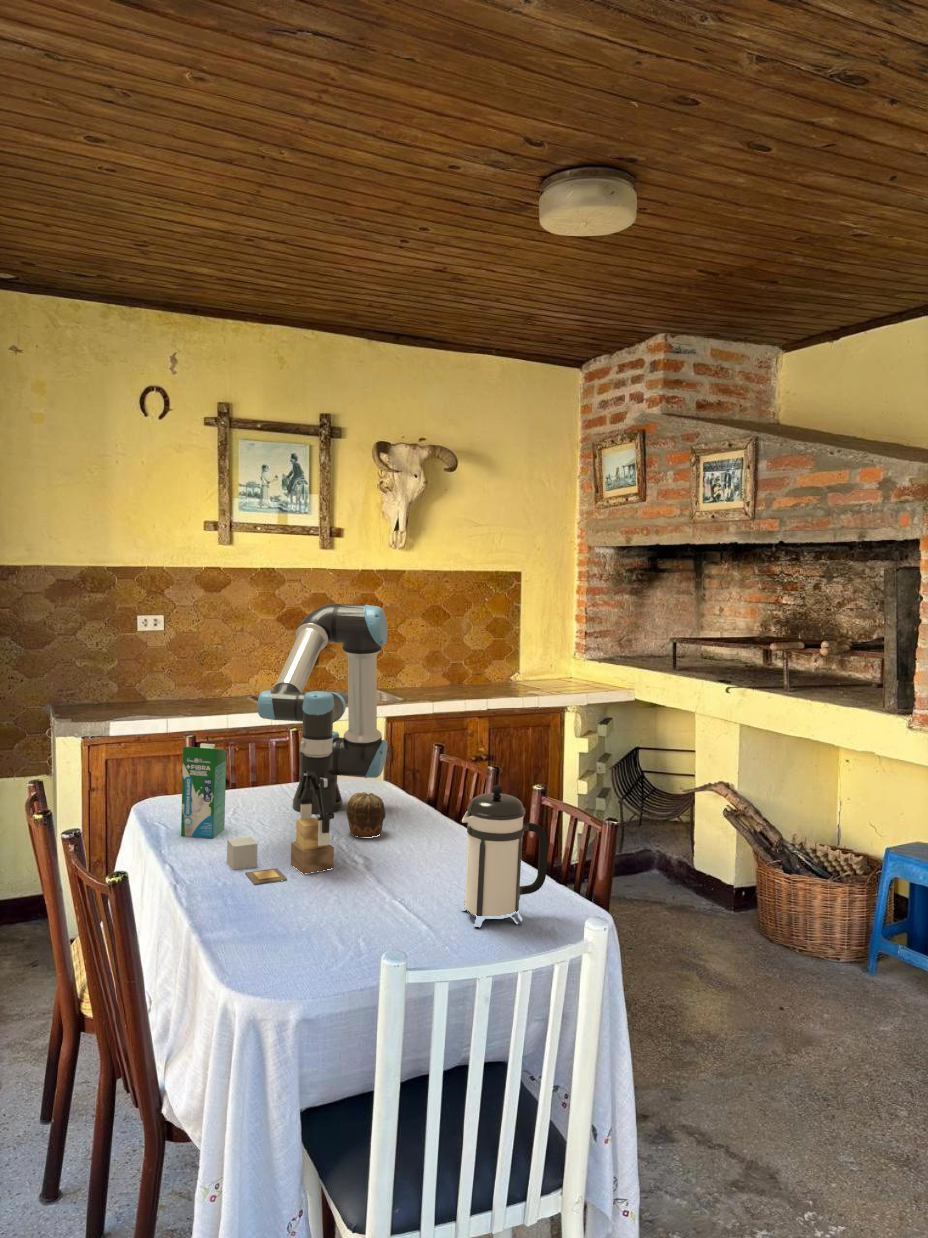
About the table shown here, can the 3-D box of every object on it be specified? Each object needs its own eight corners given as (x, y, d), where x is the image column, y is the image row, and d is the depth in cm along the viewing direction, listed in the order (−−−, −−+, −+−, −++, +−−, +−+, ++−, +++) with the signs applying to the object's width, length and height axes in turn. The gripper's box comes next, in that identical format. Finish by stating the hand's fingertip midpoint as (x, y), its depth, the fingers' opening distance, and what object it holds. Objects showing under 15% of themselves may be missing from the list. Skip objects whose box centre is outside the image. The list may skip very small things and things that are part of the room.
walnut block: (319, 860, 236) (320, 838, 236) (333, 870, 229) (333, 847, 229) (290, 865, 232) (291, 842, 231) (303, 875, 225) (304, 852, 225)
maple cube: (318, 840, 234) (319, 817, 233) (326, 847, 229) (327, 823, 228) (296, 843, 231) (296, 819, 231) (303, 850, 226) (304, 826, 225)
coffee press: (508, 938, 193) (515, 799, 191) (444, 920, 201) (450, 785, 199) (545, 913, 208) (552, 783, 205) (485, 896, 216) (490, 771, 214)
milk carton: (224, 829, 258) (226, 741, 257) (212, 838, 249) (214, 748, 248) (193, 826, 259) (195, 739, 257) (180, 836, 250) (182, 746, 248)
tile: (277, 869, 228) (277, 867, 228) (287, 880, 221) (287, 877, 221) (245, 874, 224) (245, 871, 224) (254, 885, 217) (254, 882, 217)
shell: (338, 837, 255) (339, 795, 254) (357, 827, 265) (358, 786, 265) (372, 843, 251) (374, 800, 250) (390, 833, 261) (392, 791, 261)
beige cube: (250, 859, 235) (250, 836, 234) (256, 867, 229) (257, 843, 229) (226, 862, 232) (227, 839, 231) (233, 870, 226) (233, 846, 226)
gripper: (286, 744, 238) (284, 824, 240) (319, 766, 216) (316, 854, 218) (314, 742, 242) (311, 821, 243) (349, 764, 220) (346, 850, 222)
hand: (314, 837), depth 231 cm, fingers open, 13 cm apart
